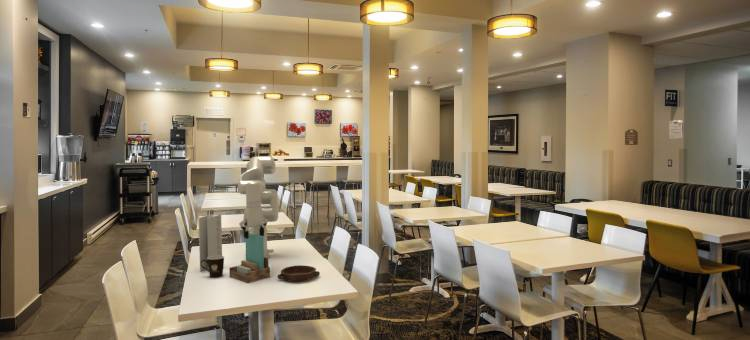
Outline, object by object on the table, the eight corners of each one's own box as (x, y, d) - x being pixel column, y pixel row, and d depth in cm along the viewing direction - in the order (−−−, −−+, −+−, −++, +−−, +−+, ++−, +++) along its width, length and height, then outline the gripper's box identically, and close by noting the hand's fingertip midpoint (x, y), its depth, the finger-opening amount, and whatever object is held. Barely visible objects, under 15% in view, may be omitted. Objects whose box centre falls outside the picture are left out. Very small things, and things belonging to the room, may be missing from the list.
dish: (275, 276, 250) (275, 267, 249) (315, 272, 257) (315, 263, 257) (279, 285, 233) (279, 276, 233) (323, 281, 240) (322, 271, 240)
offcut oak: (244, 274, 253) (244, 260, 252) (257, 278, 245) (257, 263, 244) (241, 275, 251) (241, 260, 251) (254, 279, 243) (254, 264, 243)
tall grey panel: (209, 272, 258) (207, 218, 256) (199, 271, 259) (198, 217, 257) (222, 265, 271) (221, 214, 270) (213, 265, 273) (212, 214, 271)
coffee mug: (228, 274, 253) (227, 256, 252) (217, 278, 245) (217, 260, 244) (210, 272, 257) (209, 254, 256) (199, 276, 249) (199, 258, 248)
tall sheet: (251, 273, 256) (250, 233, 254) (264, 277, 248) (263, 236, 246) (246, 274, 253) (245, 234, 252) (259, 278, 246) (258, 236, 244)
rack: (252, 271, 259) (251, 253, 258) (270, 276, 248) (269, 258, 247) (229, 276, 248) (229, 258, 248) (247, 282, 237) (247, 263, 237)
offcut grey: (240, 276, 250) (240, 265, 249) (251, 280, 243) (251, 268, 243) (237, 277, 248) (236, 266, 248) (248, 280, 241) (247, 269, 241)
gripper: (263, 203, 257) (263, 233, 258) (235, 206, 244) (236, 238, 245) (271, 203, 252) (271, 235, 253) (243, 207, 239) (244, 240, 240)
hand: (254, 236), depth 249 cm, fingers open, 9 cm apart
